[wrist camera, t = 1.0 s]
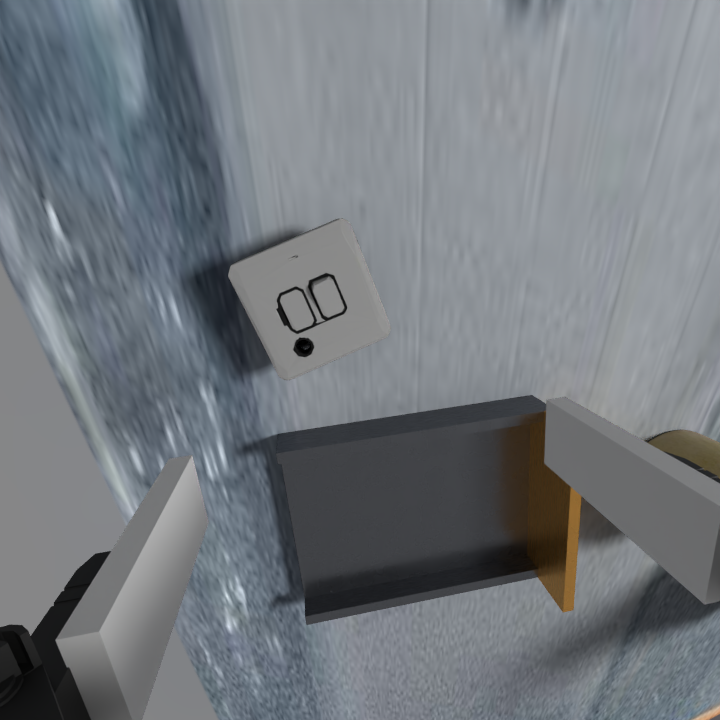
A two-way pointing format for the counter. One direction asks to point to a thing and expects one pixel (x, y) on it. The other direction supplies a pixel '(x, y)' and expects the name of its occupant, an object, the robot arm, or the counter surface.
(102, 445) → the counter surface
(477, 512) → the drawer
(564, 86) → the counter surface
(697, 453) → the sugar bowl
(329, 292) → the electrical switch
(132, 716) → the robot arm
